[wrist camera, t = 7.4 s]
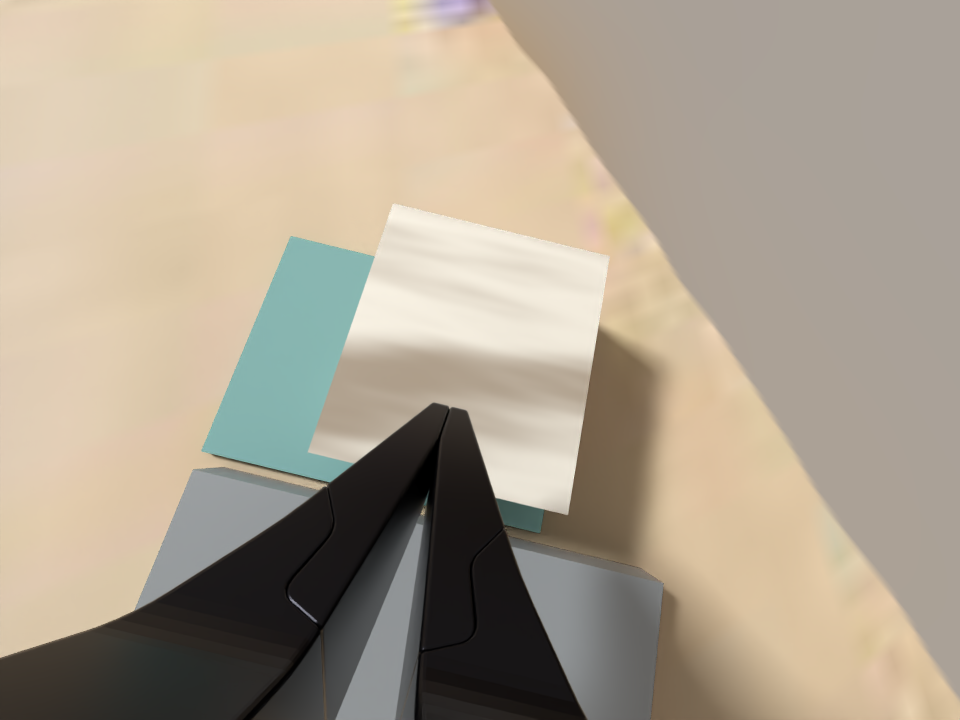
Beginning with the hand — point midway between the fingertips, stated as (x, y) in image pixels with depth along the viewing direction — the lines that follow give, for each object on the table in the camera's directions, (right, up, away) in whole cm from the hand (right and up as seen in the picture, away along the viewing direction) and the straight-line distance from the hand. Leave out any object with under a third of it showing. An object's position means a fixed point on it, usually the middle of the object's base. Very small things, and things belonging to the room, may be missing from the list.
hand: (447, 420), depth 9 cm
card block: (-1, -3, +6) cm, 7 cm away
